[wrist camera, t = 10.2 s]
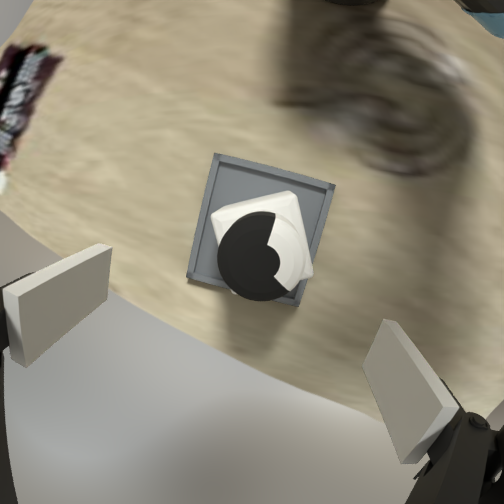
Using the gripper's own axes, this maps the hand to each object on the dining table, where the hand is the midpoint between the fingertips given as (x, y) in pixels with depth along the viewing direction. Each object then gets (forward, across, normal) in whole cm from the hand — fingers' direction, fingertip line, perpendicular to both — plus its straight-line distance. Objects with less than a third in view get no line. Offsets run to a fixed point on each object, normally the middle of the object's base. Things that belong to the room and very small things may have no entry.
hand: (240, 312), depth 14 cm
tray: (+22, 0, 0) cm, 22 cm away
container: (+22, +1, 0) cm, 22 cm away
